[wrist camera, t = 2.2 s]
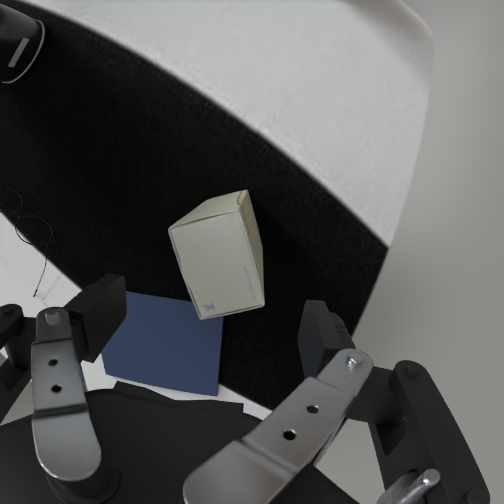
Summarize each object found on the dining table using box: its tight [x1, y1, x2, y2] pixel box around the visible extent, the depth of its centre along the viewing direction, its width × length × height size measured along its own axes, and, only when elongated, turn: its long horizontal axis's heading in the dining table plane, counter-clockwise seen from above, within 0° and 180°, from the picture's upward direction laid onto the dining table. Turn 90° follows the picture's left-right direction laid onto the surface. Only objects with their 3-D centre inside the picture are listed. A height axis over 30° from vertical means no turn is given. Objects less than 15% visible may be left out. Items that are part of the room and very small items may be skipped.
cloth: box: [101, 291, 224, 396], centre depth 32 cm, size 16×14×1 cm
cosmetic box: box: [168, 190, 265, 320], centre depth 22 cm, size 6×4×12 cm
